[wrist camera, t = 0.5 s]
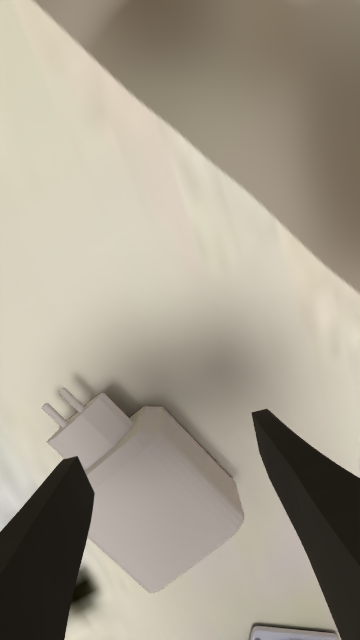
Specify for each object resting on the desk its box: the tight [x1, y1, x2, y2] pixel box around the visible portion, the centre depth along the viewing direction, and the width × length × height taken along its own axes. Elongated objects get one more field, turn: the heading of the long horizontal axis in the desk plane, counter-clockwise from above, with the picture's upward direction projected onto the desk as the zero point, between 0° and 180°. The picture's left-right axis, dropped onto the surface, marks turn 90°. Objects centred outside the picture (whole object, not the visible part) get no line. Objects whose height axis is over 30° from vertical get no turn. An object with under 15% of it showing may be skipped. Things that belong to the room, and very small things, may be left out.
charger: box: [42, 388, 244, 593], centre depth 20 cm, size 5×9×15 cm
